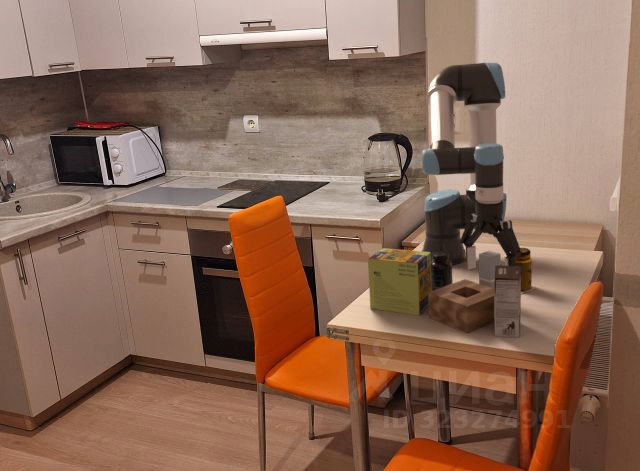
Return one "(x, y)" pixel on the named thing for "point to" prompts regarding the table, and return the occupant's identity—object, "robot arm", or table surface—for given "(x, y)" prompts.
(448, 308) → the block
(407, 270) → the protein box
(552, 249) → the table surface
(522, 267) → the condiment
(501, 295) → the coffee box
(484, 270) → the peg
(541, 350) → the table surface
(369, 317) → the table surface
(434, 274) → the supplement bottle
